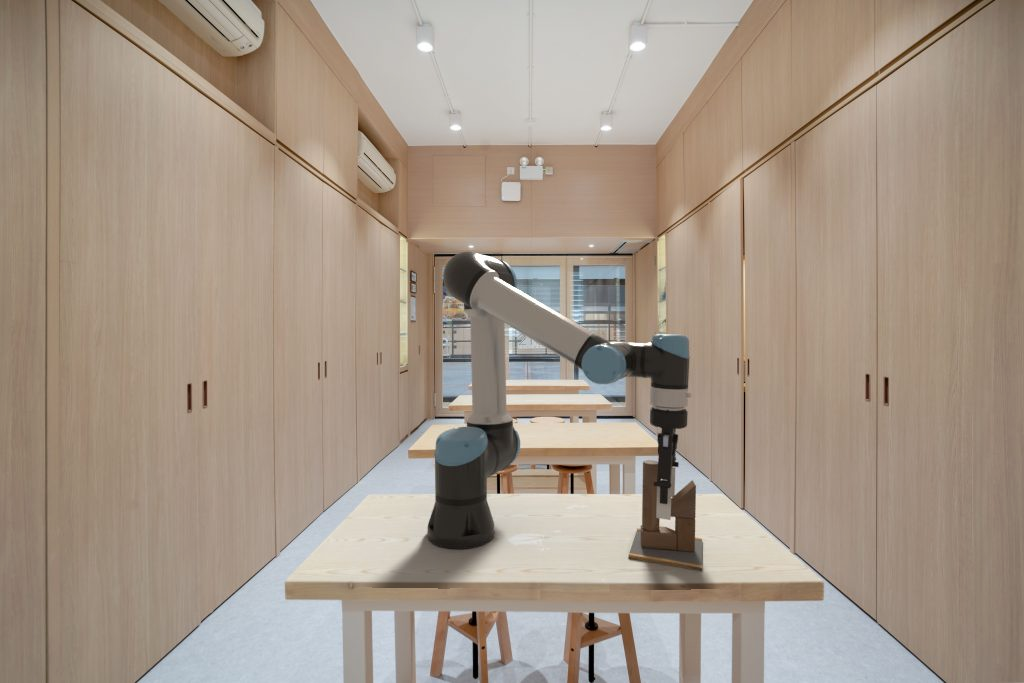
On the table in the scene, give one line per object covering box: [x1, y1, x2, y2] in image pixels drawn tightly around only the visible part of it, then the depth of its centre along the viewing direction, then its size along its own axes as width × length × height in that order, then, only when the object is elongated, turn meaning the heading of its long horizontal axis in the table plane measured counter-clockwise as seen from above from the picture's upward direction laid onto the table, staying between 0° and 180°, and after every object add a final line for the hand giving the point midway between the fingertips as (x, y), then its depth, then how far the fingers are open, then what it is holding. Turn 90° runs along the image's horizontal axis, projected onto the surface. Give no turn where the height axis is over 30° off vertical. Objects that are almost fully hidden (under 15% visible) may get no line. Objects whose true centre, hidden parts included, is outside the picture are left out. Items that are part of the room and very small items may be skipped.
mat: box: [628, 527, 703, 572], centre depth 104 cm, size 14×14×1 cm
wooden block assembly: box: [640, 459, 697, 552], centre depth 103 cm, size 4×11×18 cm, turn 79°
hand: (665, 506), depth 103 cm, fingers open, 13 cm apart
